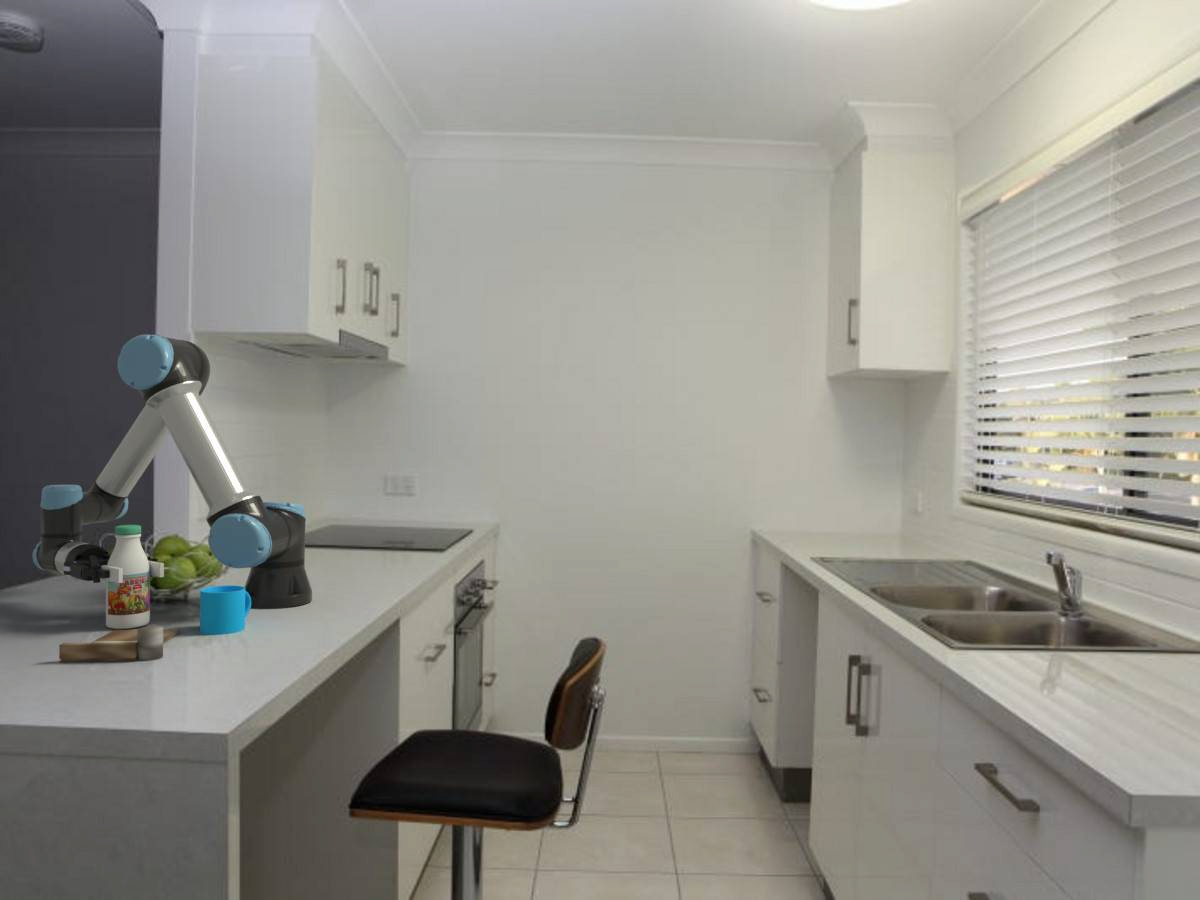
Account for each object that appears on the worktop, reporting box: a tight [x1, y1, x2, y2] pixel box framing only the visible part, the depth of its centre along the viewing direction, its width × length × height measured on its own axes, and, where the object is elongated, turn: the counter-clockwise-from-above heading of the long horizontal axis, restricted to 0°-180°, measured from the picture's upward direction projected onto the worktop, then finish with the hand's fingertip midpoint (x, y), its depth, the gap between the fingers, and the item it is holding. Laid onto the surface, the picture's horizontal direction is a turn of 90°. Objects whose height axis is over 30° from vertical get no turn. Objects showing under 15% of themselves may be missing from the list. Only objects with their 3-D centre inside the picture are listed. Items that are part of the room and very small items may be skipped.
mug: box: [199, 584, 252, 636], centre depth 169 cm, size 12×8×8 cm
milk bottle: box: [105, 524, 151, 630], centre depth 168 cm, size 8×8×20 cm
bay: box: [58, 625, 181, 663], centre depth 153 cm, size 16×21×5 cm
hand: (141, 572), depth 165 cm, fingers closed on milk bottle, 7 cm apart
